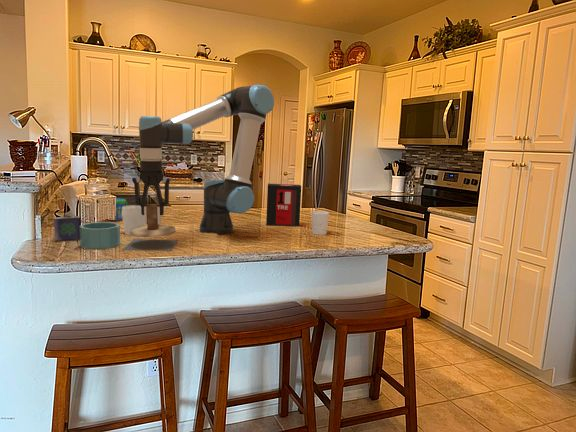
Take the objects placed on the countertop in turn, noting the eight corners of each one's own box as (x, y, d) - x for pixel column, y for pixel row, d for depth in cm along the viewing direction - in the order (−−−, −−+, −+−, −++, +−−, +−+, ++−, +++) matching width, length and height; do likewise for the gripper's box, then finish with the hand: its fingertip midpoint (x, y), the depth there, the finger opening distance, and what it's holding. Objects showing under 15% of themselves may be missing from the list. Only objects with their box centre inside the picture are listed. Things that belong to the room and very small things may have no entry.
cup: (137, 238, 171) (137, 209, 169) (117, 236, 172) (117, 207, 170) (149, 234, 179) (149, 206, 177) (130, 232, 181) (129, 204, 179)
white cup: (330, 233, 199) (331, 212, 197) (324, 236, 192) (325, 214, 190) (314, 231, 202) (315, 210, 200) (308, 234, 195) (309, 212, 193)
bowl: (123, 243, 163) (123, 222, 161) (113, 251, 150) (113, 229, 148) (88, 242, 161) (87, 221, 160) (75, 251, 148) (74, 228, 147)
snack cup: (121, 216, 216) (121, 197, 214) (135, 219, 210) (134, 199, 208) (93, 220, 203) (92, 199, 201) (106, 223, 197) (106, 202, 195)
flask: (54, 241, 160) (53, 213, 158) (54, 240, 162) (53, 212, 161) (81, 240, 165) (81, 212, 163) (81, 238, 167) (80, 211, 165)
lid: (178, 227, 167) (177, 201, 165) (171, 237, 151) (171, 208, 149) (136, 227, 165) (135, 201, 163) (125, 236, 149) (123, 208, 147)
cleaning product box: (266, 225, 211) (267, 185, 208) (266, 222, 220) (267, 183, 216) (299, 226, 212) (301, 186, 208) (298, 223, 220) (300, 184, 217)
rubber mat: (178, 242, 168) (178, 239, 168) (171, 253, 151) (171, 250, 151) (133, 241, 166) (133, 239, 166) (122, 252, 149) (121, 249, 149)
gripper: (176, 160, 158) (178, 221, 162) (129, 159, 156) (131, 221, 160) (173, 161, 150) (175, 226, 155) (123, 160, 148) (126, 225, 153)
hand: (153, 223), depth 157 cm, fingers closed on lid, 4 cm apart
